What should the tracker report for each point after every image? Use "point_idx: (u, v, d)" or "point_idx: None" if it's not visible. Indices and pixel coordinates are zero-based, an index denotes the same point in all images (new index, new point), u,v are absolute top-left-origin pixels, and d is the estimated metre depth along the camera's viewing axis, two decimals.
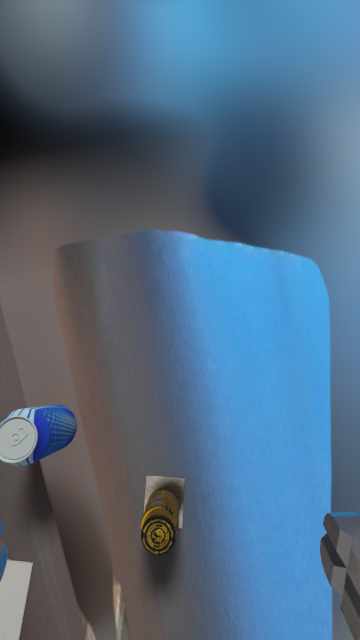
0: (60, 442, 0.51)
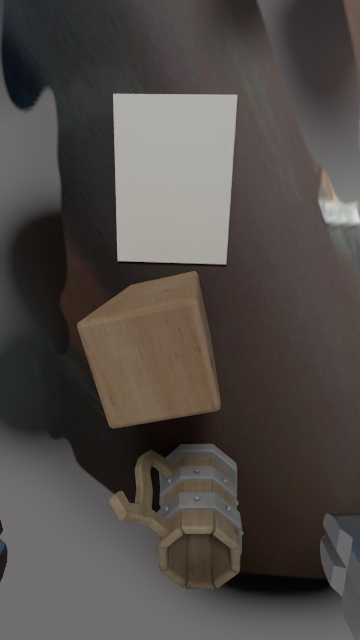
0: None
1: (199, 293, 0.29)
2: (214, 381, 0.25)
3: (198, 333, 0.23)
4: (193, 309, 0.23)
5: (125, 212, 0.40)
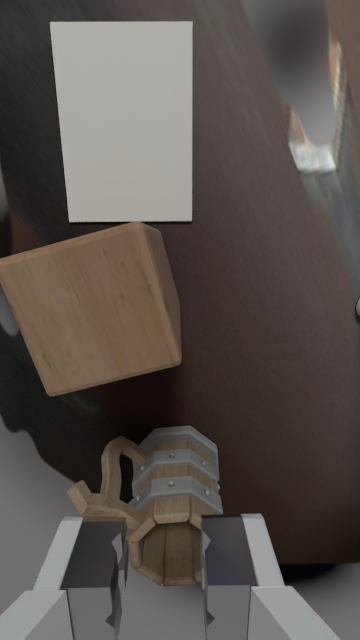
0: None
1: (154, 235, 0.25)
2: (171, 328, 0.20)
3: (146, 266, 0.19)
4: (137, 235, 0.18)
5: (73, 163, 0.35)
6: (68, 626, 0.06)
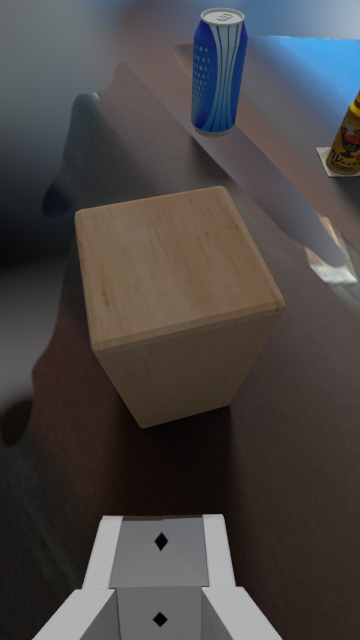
0: (240, 81, 0.51)
1: None
2: (266, 267, 0.16)
3: (232, 211, 0.18)
4: (222, 191, 0.19)
5: None
6: (116, 625, 0.06)
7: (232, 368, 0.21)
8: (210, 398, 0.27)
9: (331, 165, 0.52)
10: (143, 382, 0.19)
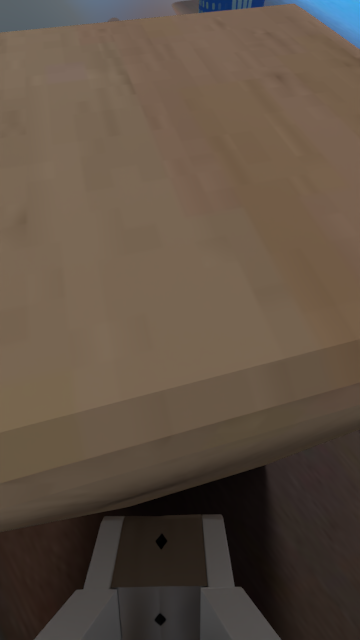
0: None
1: None
2: None
3: (339, 38, 0.07)
4: (299, 9, 0.08)
5: None
6: (118, 625, 0.06)
7: (310, 444, 0.09)
8: (241, 470, 0.15)
9: None
10: (95, 506, 0.07)
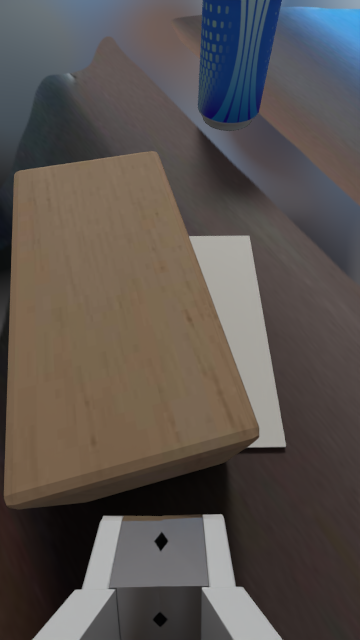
0: (271, 47, 0.35)
1: None
2: None
3: None
4: None
5: None
6: (116, 625, 0.06)
7: (153, 224, 0.17)
8: (162, 330, 0.14)
9: None
10: (42, 221, 0.18)
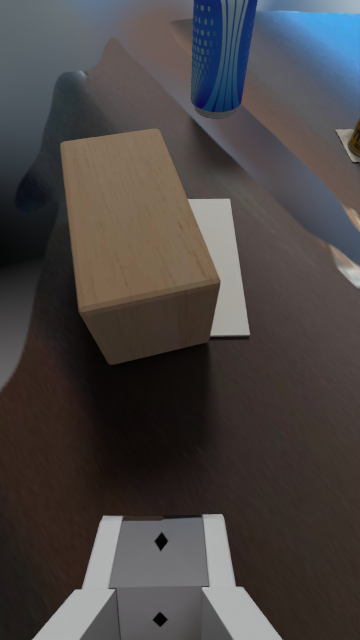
0: None
1: None
2: None
3: None
4: None
5: None
6: (116, 625, 0.06)
7: (157, 174, 0.26)
8: (164, 232, 0.23)
9: (355, 149, 0.44)
10: (83, 173, 0.26)
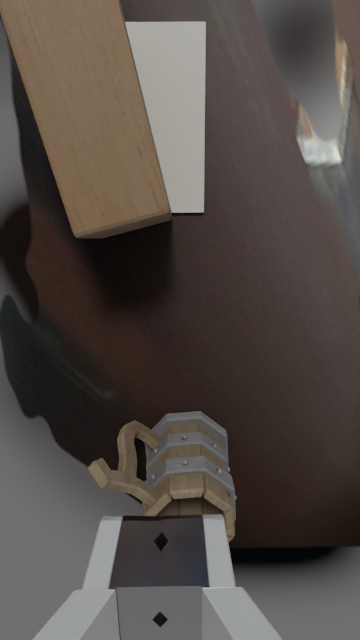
0: None
1: None
2: None
3: None
4: None
5: None
6: (116, 625, 0.06)
7: (114, 70, 0.26)
8: (126, 159, 0.28)
9: None
10: (38, 67, 0.26)
